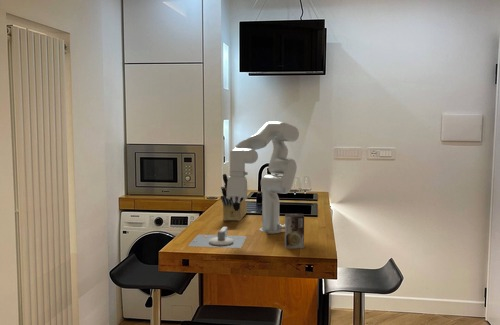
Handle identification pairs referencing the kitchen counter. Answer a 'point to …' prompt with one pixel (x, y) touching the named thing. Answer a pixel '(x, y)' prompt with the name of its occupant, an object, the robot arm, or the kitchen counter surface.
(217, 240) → the dial
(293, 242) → the coffee box
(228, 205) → the knife block
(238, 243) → the dial board
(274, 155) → the robot arm
